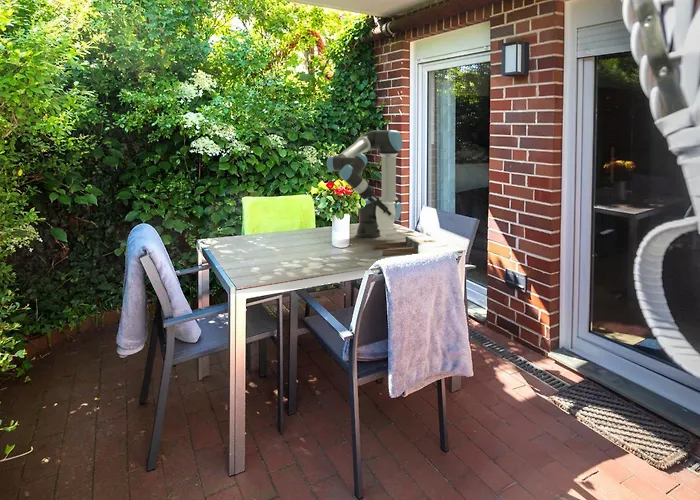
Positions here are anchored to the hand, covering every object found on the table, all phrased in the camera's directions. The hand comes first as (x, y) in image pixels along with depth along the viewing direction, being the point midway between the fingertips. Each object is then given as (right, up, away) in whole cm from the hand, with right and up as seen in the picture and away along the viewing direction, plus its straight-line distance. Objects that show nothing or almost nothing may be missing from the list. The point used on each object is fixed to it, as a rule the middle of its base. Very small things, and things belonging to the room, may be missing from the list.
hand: (390, 217), depth 283 cm
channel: (+3, -18, +5) cm, 19 cm away
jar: (-3, -7, +1) cm, 7 cm away
